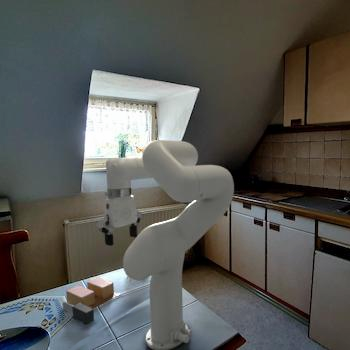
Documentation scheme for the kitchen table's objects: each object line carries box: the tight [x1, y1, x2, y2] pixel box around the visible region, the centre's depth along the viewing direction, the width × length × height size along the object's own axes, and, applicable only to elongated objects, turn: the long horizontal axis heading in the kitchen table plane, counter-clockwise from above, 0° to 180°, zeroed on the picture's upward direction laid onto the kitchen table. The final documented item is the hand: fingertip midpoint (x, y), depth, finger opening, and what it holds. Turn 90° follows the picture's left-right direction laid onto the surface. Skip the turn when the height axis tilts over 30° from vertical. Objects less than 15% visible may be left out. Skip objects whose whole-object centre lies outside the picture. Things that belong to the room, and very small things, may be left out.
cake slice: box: [65, 285, 95, 306], centre depth 97 cm, size 10×4×4 cm, turn 62°
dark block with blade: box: [62, 300, 95, 325], centre depth 89 cm, size 16×2×5 cm, turn 63°
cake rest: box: [86, 276, 115, 299], centre depth 103 cm, size 10×4×4 cm, turn 63°
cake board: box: [88, 291, 121, 310], centre depth 101 cm, size 14×12×1 cm
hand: (122, 240), depth 92 cm, fingers open, 9 cm apart
